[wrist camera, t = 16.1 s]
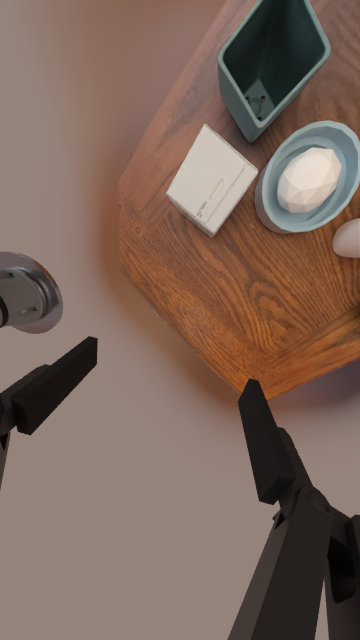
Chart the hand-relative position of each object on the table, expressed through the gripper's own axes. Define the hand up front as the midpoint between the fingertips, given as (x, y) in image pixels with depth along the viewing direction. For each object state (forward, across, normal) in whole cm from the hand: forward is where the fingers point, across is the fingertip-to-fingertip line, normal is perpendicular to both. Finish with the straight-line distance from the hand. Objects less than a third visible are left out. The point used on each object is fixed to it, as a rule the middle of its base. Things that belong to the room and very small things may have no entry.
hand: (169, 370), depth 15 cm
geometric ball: (+26, +13, +22) cm, 37 cm away
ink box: (+27, -1, +18) cm, 32 cm away
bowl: (+27, +13, +22) cm, 37 cm away
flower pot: (+27, +2, +30) cm, 41 cm away
